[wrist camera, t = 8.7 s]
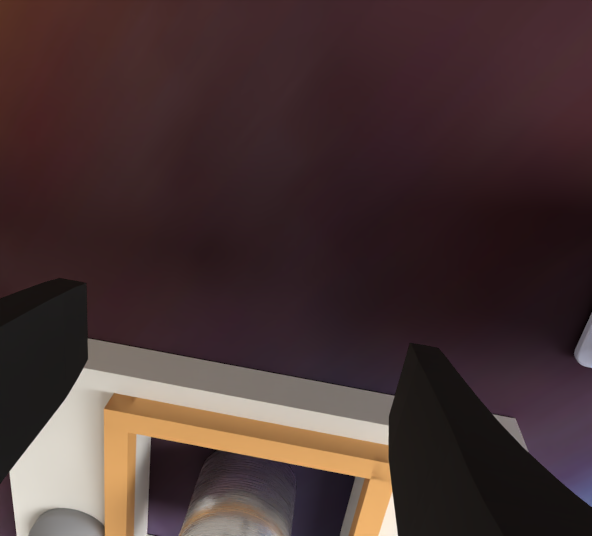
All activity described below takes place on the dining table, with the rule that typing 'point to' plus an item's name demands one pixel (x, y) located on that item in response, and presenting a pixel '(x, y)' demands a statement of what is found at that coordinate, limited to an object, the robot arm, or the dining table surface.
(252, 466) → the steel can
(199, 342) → the dining table surface
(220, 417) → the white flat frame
